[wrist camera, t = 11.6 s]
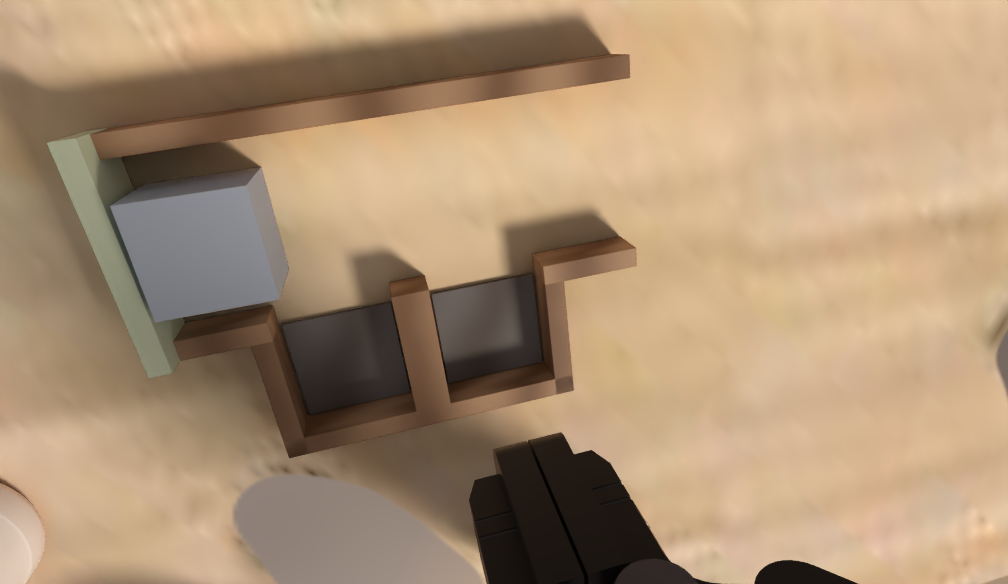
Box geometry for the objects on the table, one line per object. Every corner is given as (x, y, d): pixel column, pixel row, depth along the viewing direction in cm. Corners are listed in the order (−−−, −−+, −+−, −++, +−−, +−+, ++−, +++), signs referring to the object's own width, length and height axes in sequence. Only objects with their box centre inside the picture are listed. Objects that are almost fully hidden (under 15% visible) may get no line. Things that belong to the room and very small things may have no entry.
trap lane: (611, 54, 34) (629, 54, 32) (625, 357, 43) (640, 374, 40) (109, 128, 30) (89, 134, 28) (233, 448, 38) (225, 473, 36)
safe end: (109, 127, 30) (75, 138, 26) (191, 340, 35) (172, 373, 31) (84, 131, 30) (46, 142, 26) (170, 344, 35) (148, 378, 31)
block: (261, 166, 33) (246, 185, 28) (289, 267, 35) (279, 299, 30) (145, 183, 32) (109, 206, 27) (182, 286, 34) (155, 322, 29)
